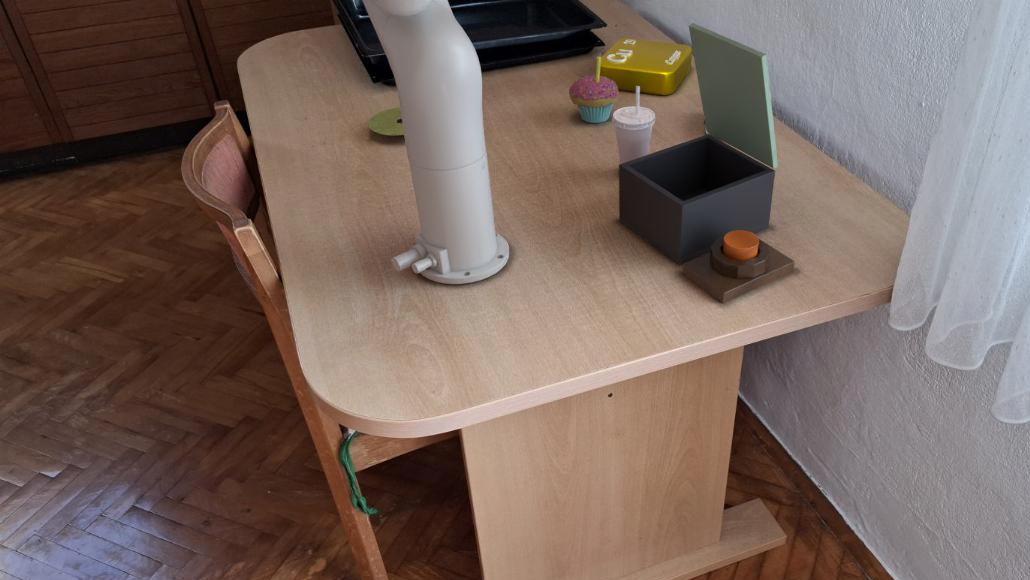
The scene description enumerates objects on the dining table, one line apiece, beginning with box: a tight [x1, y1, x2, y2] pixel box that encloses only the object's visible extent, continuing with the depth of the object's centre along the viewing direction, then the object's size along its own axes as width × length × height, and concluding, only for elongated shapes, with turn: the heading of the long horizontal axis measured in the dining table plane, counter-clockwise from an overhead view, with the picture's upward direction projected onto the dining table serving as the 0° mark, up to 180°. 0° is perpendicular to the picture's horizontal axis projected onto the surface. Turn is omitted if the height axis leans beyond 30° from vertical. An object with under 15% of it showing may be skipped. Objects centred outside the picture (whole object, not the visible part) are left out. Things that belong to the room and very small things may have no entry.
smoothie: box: [611, 86, 656, 164], centre depth 128 cm, size 6×6×14 cm
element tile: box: [600, 37, 693, 96], centre depth 160 cm, size 15×15×5 cm
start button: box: [723, 230, 760, 261], centre depth 108 cm, size 4×4×2 cm
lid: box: [688, 22, 779, 170], centre depth 112 cm, size 17×14×1 cm
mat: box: [367, 106, 404, 136], centre depth 145 cm, size 11×11×2 cm
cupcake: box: [568, 52, 620, 124], centre depth 145 cm, size 9×8×12 cm
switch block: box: [682, 236, 796, 304], centre depth 110 cm, size 12×8×4 cm, turn 124°
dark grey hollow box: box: [618, 133, 776, 266], centre depth 117 cm, size 16×14×9 cm
